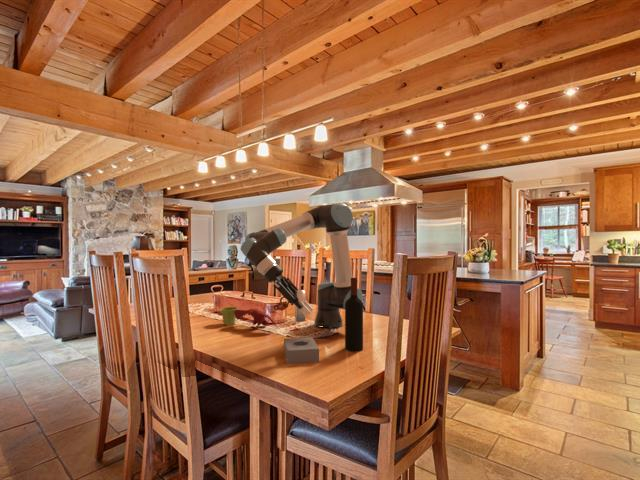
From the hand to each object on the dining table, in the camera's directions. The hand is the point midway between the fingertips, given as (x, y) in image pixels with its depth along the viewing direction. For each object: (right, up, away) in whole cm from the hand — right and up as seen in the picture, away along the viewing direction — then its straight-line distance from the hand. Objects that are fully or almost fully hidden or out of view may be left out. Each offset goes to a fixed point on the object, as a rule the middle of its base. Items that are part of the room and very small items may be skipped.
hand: (309, 312), depth 137 cm
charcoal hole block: (-4, -17, +1) cm, 18 cm away
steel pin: (-4, -3, +1) cm, 5 cm away
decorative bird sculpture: (-29, -18, +44) cm, 55 cm away
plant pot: (-46, -18, +53) cm, 72 cm away
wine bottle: (+19, -18, +10) cm, 28 cm away
